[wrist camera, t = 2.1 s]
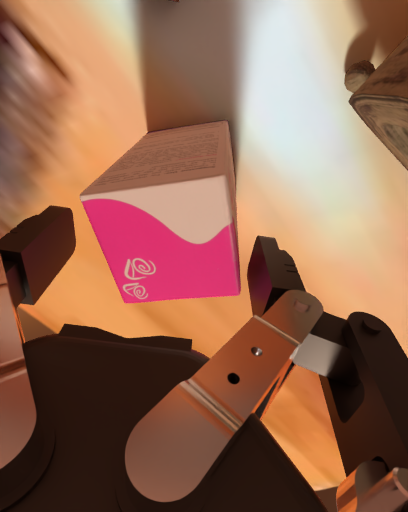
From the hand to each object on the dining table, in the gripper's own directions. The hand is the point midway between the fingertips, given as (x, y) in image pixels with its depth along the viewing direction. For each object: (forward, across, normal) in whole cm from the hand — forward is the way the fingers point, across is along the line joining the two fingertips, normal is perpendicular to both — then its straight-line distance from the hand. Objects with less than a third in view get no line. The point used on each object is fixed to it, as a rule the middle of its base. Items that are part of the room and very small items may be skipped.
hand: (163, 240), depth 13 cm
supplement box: (+10, -1, 0) cm, 11 cm away
